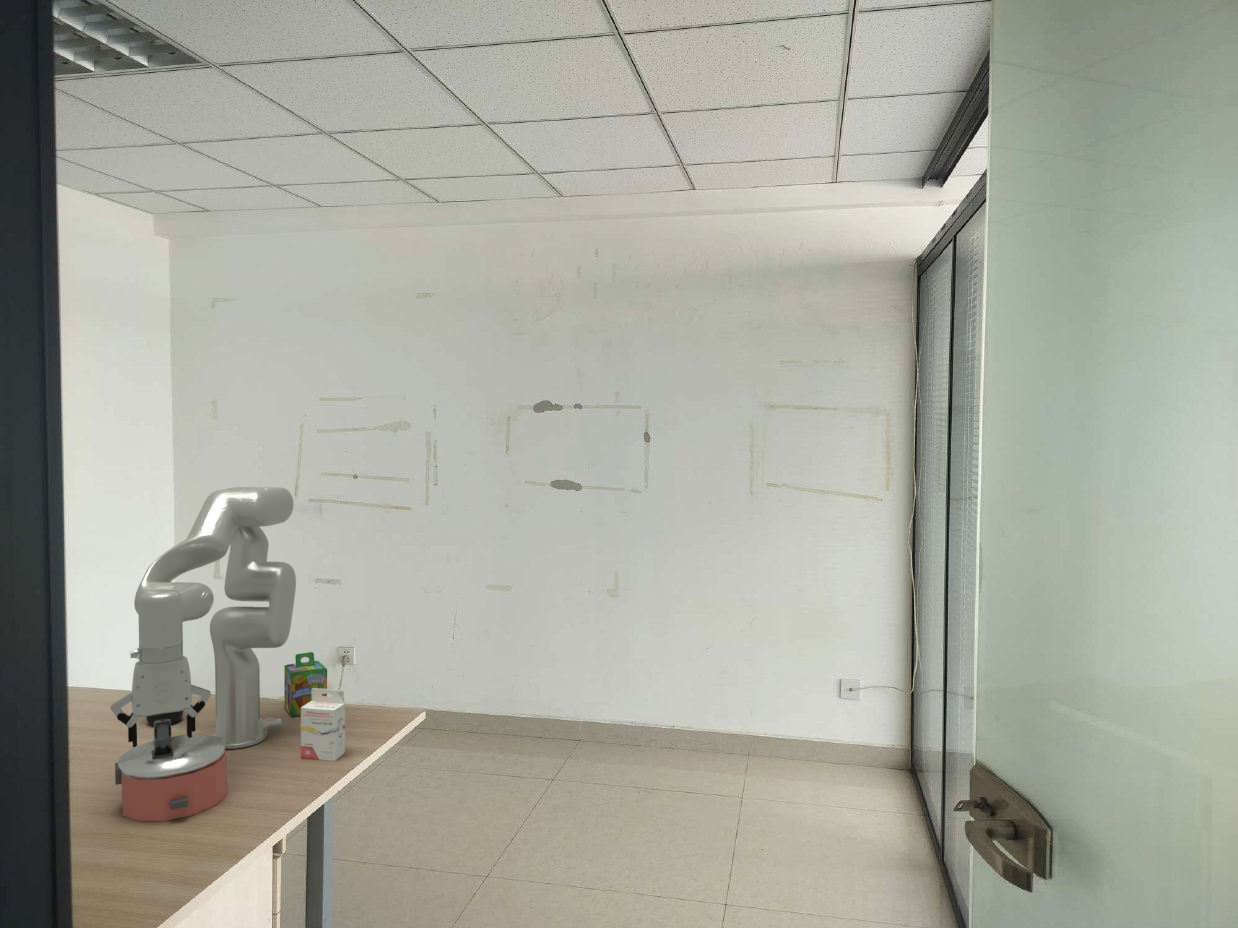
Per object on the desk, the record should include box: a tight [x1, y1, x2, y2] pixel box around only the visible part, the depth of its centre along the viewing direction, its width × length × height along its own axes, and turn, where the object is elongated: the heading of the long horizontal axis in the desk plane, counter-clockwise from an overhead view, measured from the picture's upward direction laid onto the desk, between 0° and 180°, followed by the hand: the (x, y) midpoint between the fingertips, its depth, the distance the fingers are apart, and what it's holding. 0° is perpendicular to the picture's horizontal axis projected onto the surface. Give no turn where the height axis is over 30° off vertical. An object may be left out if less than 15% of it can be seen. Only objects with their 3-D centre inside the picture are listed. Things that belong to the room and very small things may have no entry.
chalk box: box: [283, 651, 328, 717], centre depth 217 cm, size 9×9×15 cm
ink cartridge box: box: [300, 688, 346, 762], centre depth 187 cm, size 9×5×15 cm, turn 81°
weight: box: [153, 719, 172, 754], centre depth 163 cm, size 3×3×6 cm
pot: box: [114, 751, 228, 822], centre depth 164 cm, size 19×22×8 cm
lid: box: [114, 733, 226, 778], centre depth 164 cm, size 19×19×2 cm
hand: (162, 739), depth 163 cm, fingers open, 9 cm apart
